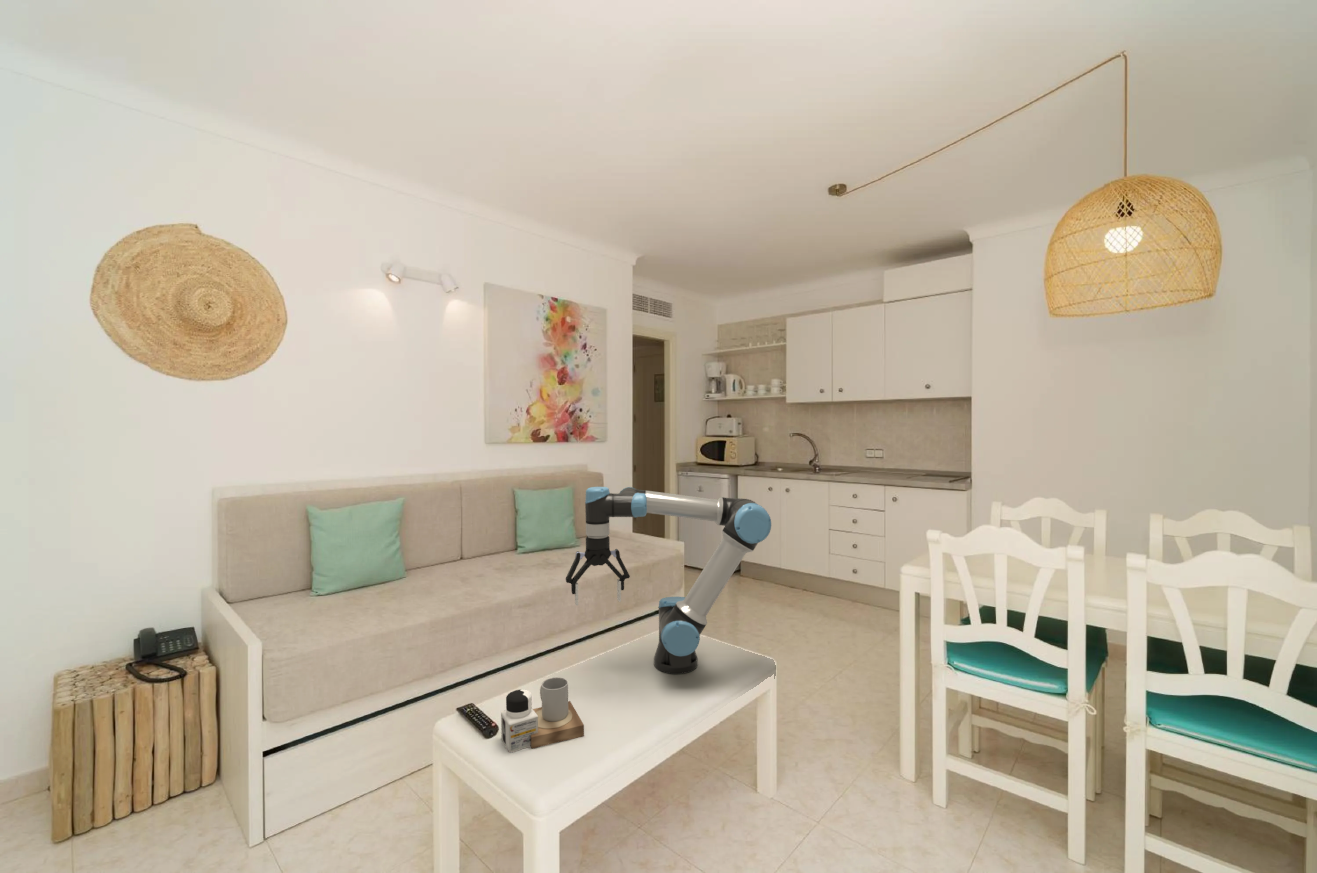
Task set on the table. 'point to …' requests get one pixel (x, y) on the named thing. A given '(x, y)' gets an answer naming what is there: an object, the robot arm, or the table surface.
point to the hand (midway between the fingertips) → (598, 602)
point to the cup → (554, 699)
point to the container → (518, 721)
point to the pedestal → (557, 728)
